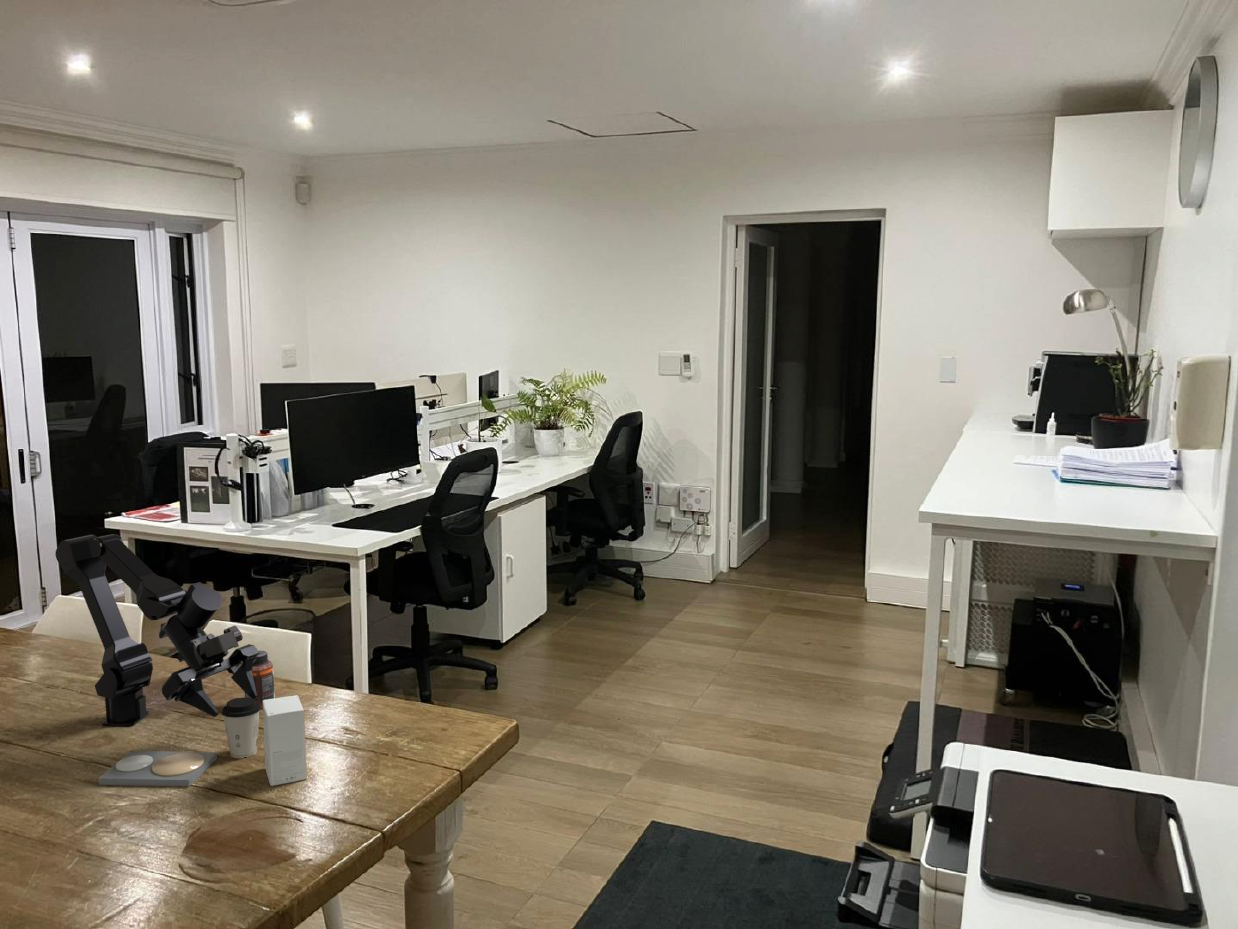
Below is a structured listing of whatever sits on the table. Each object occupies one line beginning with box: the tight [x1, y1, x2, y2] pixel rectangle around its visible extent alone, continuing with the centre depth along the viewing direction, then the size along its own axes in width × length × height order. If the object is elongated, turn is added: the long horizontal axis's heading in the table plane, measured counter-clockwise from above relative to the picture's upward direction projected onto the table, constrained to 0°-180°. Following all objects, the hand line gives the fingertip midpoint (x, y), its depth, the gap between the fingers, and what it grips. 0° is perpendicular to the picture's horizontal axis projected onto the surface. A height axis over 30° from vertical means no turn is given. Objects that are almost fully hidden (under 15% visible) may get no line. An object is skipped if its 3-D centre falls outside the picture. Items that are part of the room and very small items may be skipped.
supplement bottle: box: [244, 650, 276, 709], centre depth 204 cm, size 6×6×11 cm
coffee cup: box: [221, 697, 262, 759], centre depth 181 cm, size 7×7×10 cm
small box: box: [262, 694, 308, 787], centre depth 173 cm, size 8×6×13 cm
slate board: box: [98, 750, 218, 788], centre depth 174 cm, size 16×11×2 cm
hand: (236, 706), depth 181 cm, fingers open, 9 cm apart
